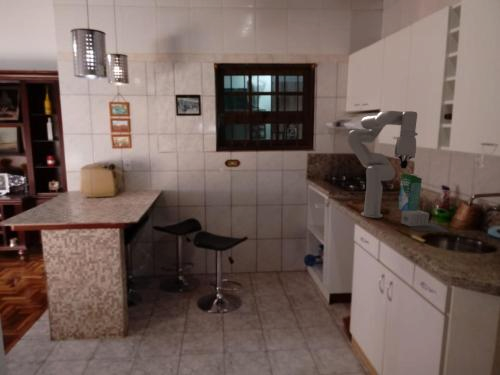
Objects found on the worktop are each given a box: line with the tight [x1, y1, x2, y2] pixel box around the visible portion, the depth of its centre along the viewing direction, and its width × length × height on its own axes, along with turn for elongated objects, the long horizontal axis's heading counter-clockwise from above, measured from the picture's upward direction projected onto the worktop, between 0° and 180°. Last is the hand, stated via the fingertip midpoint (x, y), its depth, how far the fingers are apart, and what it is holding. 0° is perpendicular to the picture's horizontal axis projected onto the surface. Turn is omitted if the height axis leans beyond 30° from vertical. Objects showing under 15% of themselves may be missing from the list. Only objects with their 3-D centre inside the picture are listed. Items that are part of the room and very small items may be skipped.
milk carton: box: [397, 172, 423, 211], centre depth 246 cm, size 9×9×25 cm
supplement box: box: [400, 210, 430, 227], centre depth 205 cm, size 7×7×13 cm
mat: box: [408, 222, 450, 234], centre depth 202 cm, size 18×18×1 cm
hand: (403, 168), depth 200 cm, fingers closed
